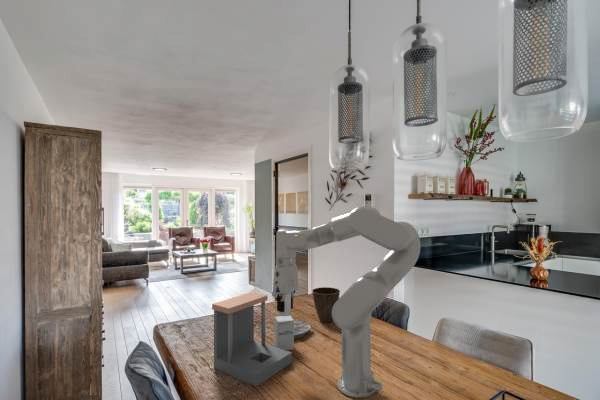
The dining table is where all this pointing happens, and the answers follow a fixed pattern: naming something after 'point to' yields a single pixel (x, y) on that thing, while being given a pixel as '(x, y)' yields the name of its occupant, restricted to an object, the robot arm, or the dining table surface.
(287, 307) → the peg
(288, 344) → the supplement box
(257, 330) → the dining table surface
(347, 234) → the robot arm
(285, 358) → the socket station
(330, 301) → the plant pot
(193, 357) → the dining table surface
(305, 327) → the brain slice
